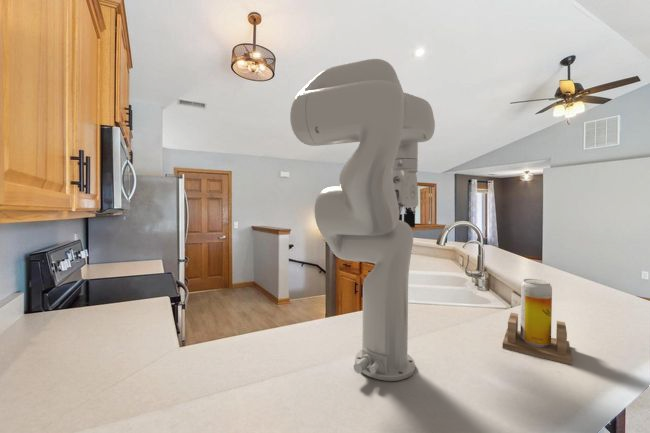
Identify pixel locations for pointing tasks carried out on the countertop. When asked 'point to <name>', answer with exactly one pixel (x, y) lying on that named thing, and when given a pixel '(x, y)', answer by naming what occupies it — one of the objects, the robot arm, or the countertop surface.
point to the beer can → (536, 312)
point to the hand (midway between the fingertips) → (402, 228)
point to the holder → (553, 351)
